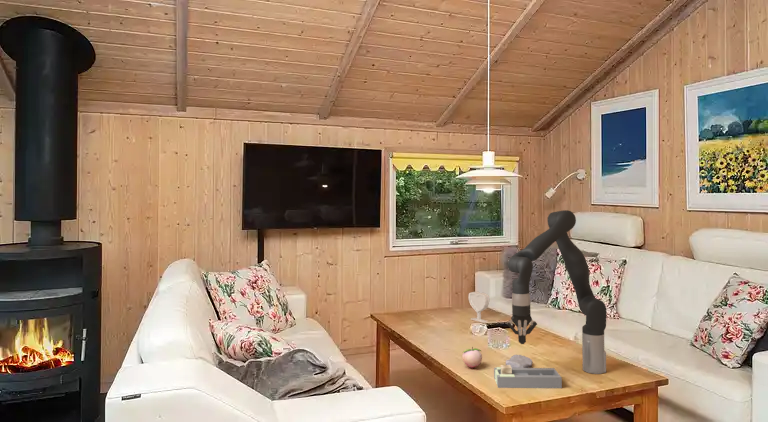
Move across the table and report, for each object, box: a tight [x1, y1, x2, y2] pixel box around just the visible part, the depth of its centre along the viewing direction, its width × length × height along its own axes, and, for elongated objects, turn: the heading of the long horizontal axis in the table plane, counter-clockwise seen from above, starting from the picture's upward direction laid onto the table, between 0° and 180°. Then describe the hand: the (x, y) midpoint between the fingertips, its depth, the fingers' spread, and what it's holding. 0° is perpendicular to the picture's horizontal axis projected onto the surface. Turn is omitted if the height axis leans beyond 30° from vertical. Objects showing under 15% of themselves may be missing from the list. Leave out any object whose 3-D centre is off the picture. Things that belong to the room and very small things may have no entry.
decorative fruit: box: [462, 346, 483, 369], centre depth 235 cm, size 9×8×10 cm
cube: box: [500, 364, 512, 374], centre depth 216 cm, size 4×4×4 cm
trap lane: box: [493, 366, 563, 389], centre depth 215 cm, size 26×12×5 cm, turn 86°
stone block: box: [505, 354, 533, 368], centre depth 236 cm, size 12×5×10 cm
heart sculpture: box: [468, 291, 490, 324], centre depth 325 cm, size 16×5×18 cm, turn 34°
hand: (522, 343), depth 215 cm, fingers closed
